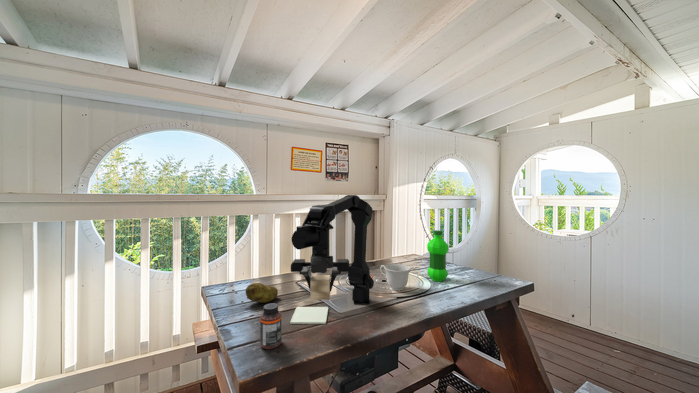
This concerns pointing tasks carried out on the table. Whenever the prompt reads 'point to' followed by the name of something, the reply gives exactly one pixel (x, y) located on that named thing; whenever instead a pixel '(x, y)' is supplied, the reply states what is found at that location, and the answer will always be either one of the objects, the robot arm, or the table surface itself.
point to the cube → (320, 287)
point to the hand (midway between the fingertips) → (320, 291)
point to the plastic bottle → (437, 257)
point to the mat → (310, 315)
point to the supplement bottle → (270, 326)
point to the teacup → (396, 275)
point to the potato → (261, 292)
